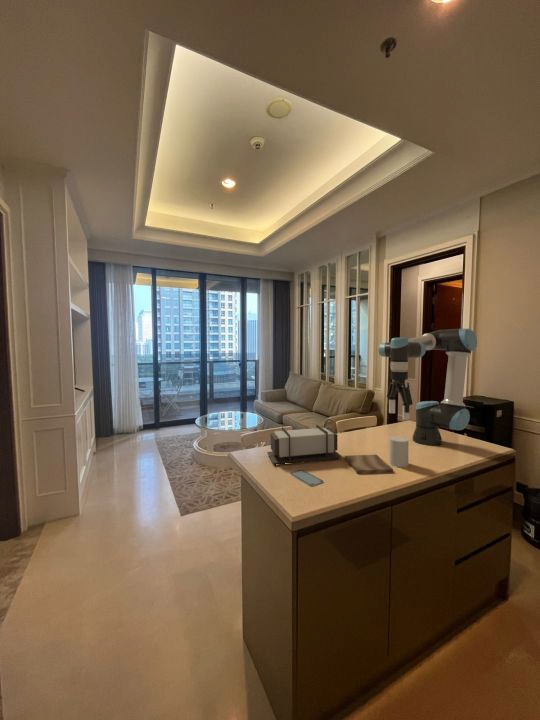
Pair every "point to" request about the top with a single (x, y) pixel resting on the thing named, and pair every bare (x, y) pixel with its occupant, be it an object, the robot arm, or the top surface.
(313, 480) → the smartphone
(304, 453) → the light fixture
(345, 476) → the top surface
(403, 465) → the beige cylinder
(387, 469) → the walnut board
